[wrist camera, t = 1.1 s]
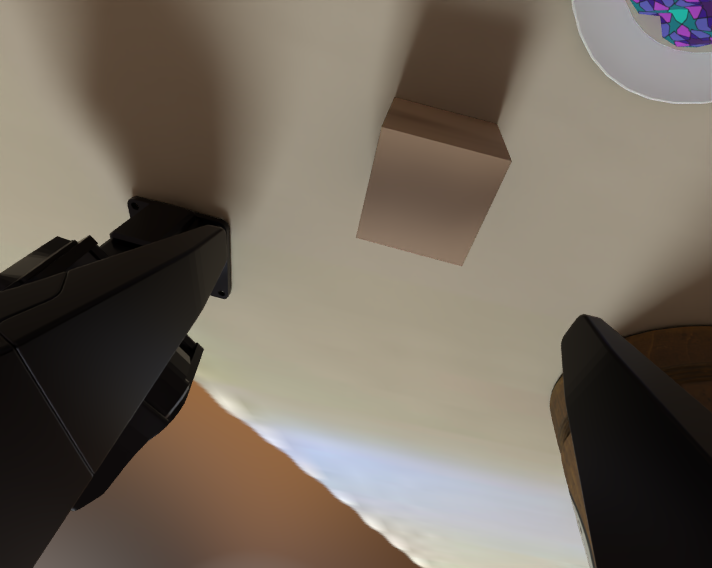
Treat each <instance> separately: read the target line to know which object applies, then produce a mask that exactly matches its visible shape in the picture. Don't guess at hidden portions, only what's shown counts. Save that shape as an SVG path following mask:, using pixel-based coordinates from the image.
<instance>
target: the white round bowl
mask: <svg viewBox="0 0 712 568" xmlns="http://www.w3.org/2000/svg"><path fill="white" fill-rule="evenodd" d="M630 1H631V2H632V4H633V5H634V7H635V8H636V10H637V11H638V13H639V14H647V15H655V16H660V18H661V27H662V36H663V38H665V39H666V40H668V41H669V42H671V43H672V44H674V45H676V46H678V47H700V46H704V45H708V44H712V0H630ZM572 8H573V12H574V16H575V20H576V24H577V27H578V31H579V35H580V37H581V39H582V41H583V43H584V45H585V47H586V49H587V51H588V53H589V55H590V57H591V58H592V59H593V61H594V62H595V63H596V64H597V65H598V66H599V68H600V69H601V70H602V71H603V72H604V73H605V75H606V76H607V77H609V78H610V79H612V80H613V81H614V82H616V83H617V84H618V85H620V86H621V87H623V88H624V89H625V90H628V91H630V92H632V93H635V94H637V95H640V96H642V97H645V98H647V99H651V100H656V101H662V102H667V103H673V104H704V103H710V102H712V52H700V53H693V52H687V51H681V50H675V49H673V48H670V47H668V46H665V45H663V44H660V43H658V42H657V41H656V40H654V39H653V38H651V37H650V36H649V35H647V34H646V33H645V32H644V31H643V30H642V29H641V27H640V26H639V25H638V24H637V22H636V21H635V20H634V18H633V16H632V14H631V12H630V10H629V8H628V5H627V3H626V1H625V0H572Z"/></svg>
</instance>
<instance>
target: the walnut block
mask: <svg viewBox="0 0 712 568" xmlns="http://www.w3.org/2000/svg"><path fill="white" fill-rule="evenodd" d="M511 162H512V161H511V158H510V155H509V153H508V150H507V148H506V145H505V143H504V140H503V138H502V135H501V133H500V130H499V127H498V125H497V124H495V123H491V122H487V121H483V120H480V119H476V118H472V117H468V116H464V115H461V114H457V113H453V112H449V111H445V110H442V109H438V108H434V107H430V106H426V105H423V104H419V103H415V102H411V101H407V100H404V99H400V98H396V97H395V98H394V100H393V102H392V105H391V107H390V109H389V111H388V114H387V116H386V118H385V121H384V123H383V125H382V128H381V132H380V136H379V141H378V145H377V149H376V154H375V158H374V162H373V166H372V171H371V175H370V179H369V184H368V188H367V192H366V196H365V201H364V205H363V209H362V214H361V218H360V222H359V226H358V231H357V235H356V238H359V239H363V240H367V241H370V242H374V243H378V244H381V245H385V246H389V247H393V248H396V249H400V250H404V251H407V252H411V253H415V254H419V255H422V256H426V257H430V258H433V259H437V260H441V261H444V262H448V263H452V264H456V265H459V266H462V265H463V263H464V261H465V259H466V257H467V255H468V253H469V250H470V248H471V246H472V244H473V242H474V240H475V238H476V236H477V234H478V231H479V229H480V227H481V225H482V223H483V221H484V219H485V217H486V215H487V212H488V210H489V208H490V206H491V204H492V202H493V200H494V198H495V196H496V193H497V191H498V189H499V187H500V185H501V183H502V181H503V179H504V177H505V174H506V172H507V170H508V168H509V166H510V164H511Z"/></svg>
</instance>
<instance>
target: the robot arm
mask: <svg viewBox="0 0 712 568" xmlns="http://www.w3.org/2000/svg"><path fill="white" fill-rule="evenodd" d="M136 204H137V205H138V206H137V205H136ZM128 209H129V213H130V219H129V220H127V221H126V222H125V223H123V224H122V225H121V226H119V227H118V228H117V229H115V230H114V231H113V232H111V233H110V239H109V240H108V241H106V242H105V243H104V244H102V245H101V246H100V247H99V246H98V245H97V244H98V243H97V242H96V241H95V240H94V239H93V238H92V237H91V236H90V235H89V236H87V237H86V238H84V239H82V240H81V241H79V242H77V241H76V240H72V241H70V240H67V239H64V238H61V237H58V236H57V237H55V238H54V239H52V240H50V241H49V242H47V243H46V244H44V245H43V246H41V247H40V248H38V249H37V250H35V251H33V252H32V253H30V254H29V255H27V256H26V257H24V258H23V259H21V260H20V261H18V262H16V263H15V264H13V265H12V266H10V267H9V268H7V269H6V270H4V271H3V272H1V273H0V568H33V567H34V565H35V564H36V562H37V560H38V559H39V558H40V556H41V555H42V553H43V551H44V550H45V548H46V547H47V545H48V544H49V542H50V541H51V539H52V538H53V536H54V535H55V533H56V532H57V530H58V529H59V527H60V526H61V524H62V523H63V521H64V520H65V518H66V516H67V515H68V514H69V512H70V511H76V510H78V509H80V508H82V507H84V506H85V505H87V504H88V503H90V502H92V501H93V500H95V499H96V498H98V497H99V496H101V495H102V494H104V492H105V491H106V490H107V489H108V488H109V486H110V485H111V484H112V482H113V481H114V480H115V479H116V477H117V476H118V475H119V474H120V472H121V471H122V470H123V468H124V467H125V466H126V465H127V463H128V462H129V461H130V460H131V459H132V457H133V456H134V455H135V454H136V453H137V452H138V451H139V450H140V449H141V448H142V447H143V446H144V445H145V444H146V443H147V441H148V440H150V439H151V438H153V437H154V436H156V435H157V434H159V433H160V432H161V431H162V430H163V429H164V428H165V427H166V426H167V425H168V424H169V423H170V422H171V421H172V420H173V419H174V418H175V416H176V415H177V414H178V413H179V411H180V410H181V408H182V406H183V405H184V403H185V401H186V398H187V396H188V393H189V390H190V387H191V384H192V382H193V379H194V376H195V373H196V370H197V367H198V365H199V362H200V359H201V356H202V353H203V350H204V349H203V348H202V347H201V346H200V345H199V344H198V343H195V342H194V341H193V340H192V339H191V338H190V337H189V336H188V335H187V333H188V331H189V330H190V328H191V327H192V325H193V324H194V322H195V321H196V319H197V318H198V316H199V315H200V313H201V311H202V310H203V308H204V306H205V304H206V302H207V300H208V298H209V296H210V295H211V296H214V297H218V298H222V299H226V298H227V297H228V296H229V295H230V292H231V285H230V238H229V225H228V223H227V222H226V221H224V220H222V219H219V218H215V217H212V216H208V215H204V214H200V213H197V212H193V211H191V210H188V209H185V208H181V207H177V206H174V205H170V204H166V203H162V202H159V201H153V200H149V199H145V198H141V197H138V196H134V197H132V198H131V199H129V200H128ZM218 226H221V227H222V228H221V227H218ZM222 291H223V292H222ZM561 352H562V368H563V383H564V396H565V403H566V410H567V415H568V420H569V425H570V431H571V436H572V441H573V447H574V452H575V457H576V463H577V468H578V473H579V479H580V484H581V489H582V494H583V500H584V505H585V510H586V516H587V521H588V526H589V532H590V537H591V542H592V548H593V553H594V558H595V563H596V568H712V412H710V411H709V410H708V409H707V408H706V407H705V406H703V405H702V404H701V403H700V402H699V401H698V400H696V399H695V398H694V397H693V396H692V395H690V394H689V393H688V392H687V391H686V390H685V389H683V388H682V387H681V386H680V385H679V384H677V383H676V382H675V381H674V380H673V379H672V378H670V377H669V376H668V375H667V374H666V373H665V372H663V371H662V370H661V369H660V368H659V367H657V366H656V365H655V364H654V363H653V362H652V361H650V360H649V359H648V358H647V357H646V356H644V355H643V354H642V353H641V352H640V351H639V350H637V349H636V348H635V347H634V346H633V345H632V344H630V343H629V342H628V341H627V340H626V339H624V338H623V337H622V336H621V335H620V334H619V333H617V332H616V331H615V330H614V329H613V328H612V327H610V326H609V325H608V324H607V323H606V322H604V321H603V320H602V319H601V318H598V317H594V316H590V315H586V314H583V315H580V316H579V317H578V318H577V319H576V320H575V321H574V323H573V324H572V326H571V327H570V328H569V330H568V331H567V332H566V334H565V335H564V337H563V339H562V342H561Z"/></svg>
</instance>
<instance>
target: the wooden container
mask: <svg viewBox="0 0 712 568" xmlns="http://www.w3.org/2000/svg"><path fill="white" fill-rule="evenodd" d="M624 339H626V340H627V341H628V342H629V343H630V344H632V345H633V346H634V347H635V348H636V349H637V350H639V351H640V352H641V353H642V354H643V355H644V356H646V357H647V358H648V359H649V360H650V361H652V362H653V363H654V364H655V365H656V366H657V367H659V368H660V369H661V370H662V371H663V372H665V373H666V374H667V375H668V376H669V377H670V378H672V379H673V380H674V381H675V382H676V383H677V384H679V385H680V386H681V387H682V388H683V389H685V390H686V391H687V392H688V393H689V394H690V395H692V396H693V397H694V398H695V399H696V400H698V401H699V402H700V403H701V404H702V405H703V406H705V407H706V408H707V409H708V410H709V411H710V412H712V326H689V327H676V328H668V329H660V330H654V331H649V332H645V333H641V334H637V335H633V336H629V337H626V338H624ZM550 411H551V417H552V421H553V425H554V430H555V434H556V438H557V442H558V446H559V450H560V453H561V458H562V464H563V469H564V473H565V477H566V481H567V484H568V488H569V493H570V496H571V500H572V504H573V508H574V512H575V515H576V519H577V523H578V527H579V531H580V534H581V538H582V541H583V545H584V548H585V552H586V555H587V559H588V563H589V566H590V568H596V563H595V558H594V553H593V548H592V542H591V537H590V532H589V526H588V521H587V516H586V510H585V505H584V500H583V494H582V489H581V484H580V479H579V473H578V468H577V463H576V457H575V452H574V447H573V441H572V436H571V431H570V425H569V420H568V415H567V410H566V403H565V396H564V383H563V375H562V376H561V378H560V379H559V380H558V382H557V384H556V386H555V387H554V389H553V392H552V394H551V399H550Z"/></svg>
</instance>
